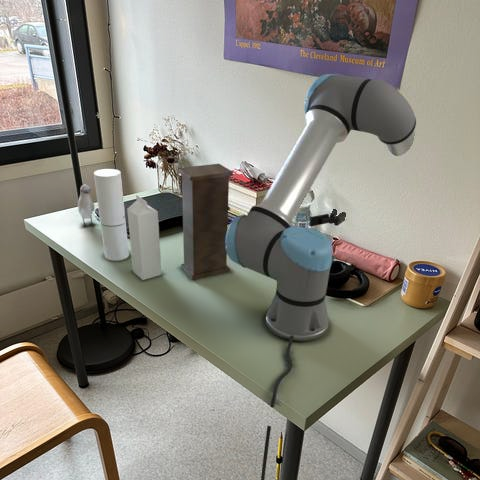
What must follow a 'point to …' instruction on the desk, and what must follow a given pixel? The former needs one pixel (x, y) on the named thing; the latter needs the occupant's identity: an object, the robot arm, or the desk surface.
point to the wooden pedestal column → (205, 219)
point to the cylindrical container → (112, 213)
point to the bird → (85, 203)
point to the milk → (144, 239)
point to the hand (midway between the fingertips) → (296, 213)
